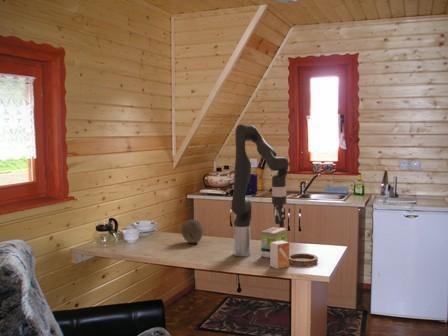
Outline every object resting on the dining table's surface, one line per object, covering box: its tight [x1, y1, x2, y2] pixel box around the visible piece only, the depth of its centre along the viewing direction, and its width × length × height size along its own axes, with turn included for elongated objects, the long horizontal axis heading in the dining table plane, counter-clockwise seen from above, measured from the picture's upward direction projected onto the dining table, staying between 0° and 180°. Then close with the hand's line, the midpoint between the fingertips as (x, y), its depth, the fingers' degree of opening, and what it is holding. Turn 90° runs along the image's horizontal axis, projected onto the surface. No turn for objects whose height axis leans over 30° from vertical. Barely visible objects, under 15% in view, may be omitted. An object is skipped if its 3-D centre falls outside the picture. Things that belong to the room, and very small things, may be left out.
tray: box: [289, 252, 319, 267], centre depth 268 cm, size 16×16×3 cm
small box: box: [269, 240, 290, 270], centre depth 260 cm, size 8×6×13 cm
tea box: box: [260, 226, 288, 259], centre depth 283 cm, size 15×10×15 cm, turn 148°
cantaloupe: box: [181, 219, 204, 244], centre depth 315 cm, size 14×14×15 cm
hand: (279, 225), depth 259 cm, fingers open, 8 cm apart
